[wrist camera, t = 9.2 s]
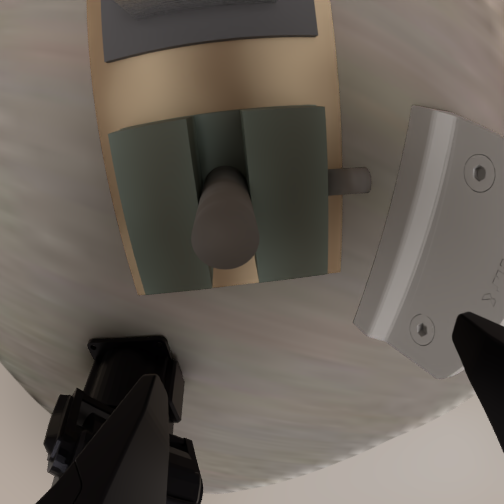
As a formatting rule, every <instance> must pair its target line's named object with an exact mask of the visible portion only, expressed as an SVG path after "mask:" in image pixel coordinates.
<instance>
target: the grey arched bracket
mask: <svg viewBox="0 0 504 504" xmlns="http://www.w3.org/2000/svg"><path fill="white" fill-rule="evenodd" d="M467 311H469V312H472V313H474V314H477V315H479V316H481V317H484V318H486V319H488V320H490V321H493V322H495V323H497V324H499V325H502V326H504V136H503V135H501V134H499V133H497V132H495V131H493V130H491V129H488V128H486V127H484V126H482V125H480V124H478V123H476V122H473V121H471V120H469V119H466V118H464V117H462V116H459V115H457V114H455V113H452V112H449V111H443V110H436V109H432V108H427V107H422V106H417V105H412V108H411V114H410V119H409V125H408V130H407V135H406V140H405V145H404V150H403V155H402V160H401V164H400V168H399V173H398V177H397V181H396V185H395V190H394V194H393V197H392V201H391V205H390V209H389V213H388V216H387V220H386V224H385V227H384V231H383V234H382V238H381V241H380V244H379V248H378V251H377V254H376V257H375V261H374V264H373V267H372V270H371V273H370V276H369V279H368V282H367V285H366V288H365V291H364V294H363V297H362V300H361V302H360V305H359V308H358V311H357V314H356V316H355V319H354V322H353V323H354V324H355V325H356V326H357V327H358V328H359V329H360V330H361V331H362V332H363V333H364V334H365V335H366V336H368V337H371V338H374V339H378V340H382V341H385V342H387V343H388V344H389V345H391V346H392V347H394V348H395V349H396V350H398V351H399V352H400V353H402V354H403V355H405V356H406V357H407V358H409V359H410V360H411V361H413V362H414V363H416V364H417V365H418V366H420V367H421V368H422V369H424V370H425V371H426V372H428V373H429V374H431V375H432V376H433V377H435V378H437V379H445V378H448V377H451V376H454V375H456V374H458V373H459V372H461V371H462V370H464V367H463V364H462V362H461V360H460V357H459V355H458V353H457V350H456V348H455V346H454V343H453V341H452V332H453V329H454V325H455V322H456V318H457V316H458V315H459V314H461V313H464V312H467Z"/></svg>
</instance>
